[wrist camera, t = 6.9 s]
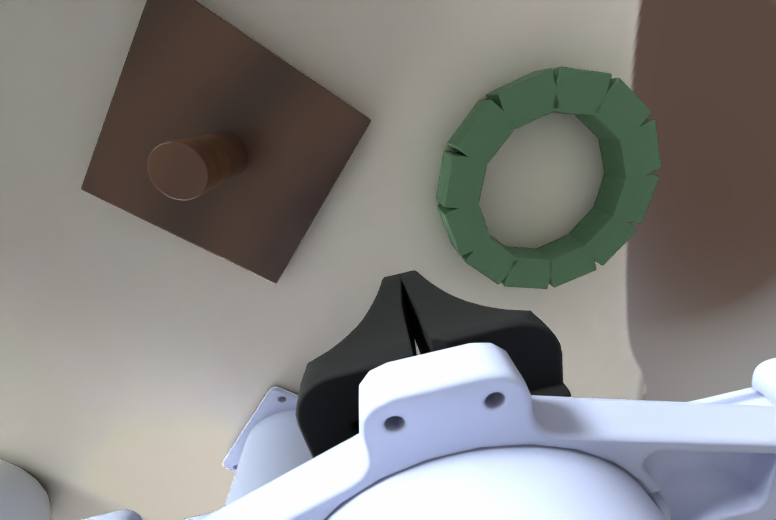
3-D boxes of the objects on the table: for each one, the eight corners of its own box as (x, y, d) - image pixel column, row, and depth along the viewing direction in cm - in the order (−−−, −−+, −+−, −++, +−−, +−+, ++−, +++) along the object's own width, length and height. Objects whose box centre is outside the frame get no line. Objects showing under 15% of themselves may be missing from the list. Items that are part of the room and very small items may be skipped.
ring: (581, 14, 17) (605, 4, 15) (666, 196, 21) (693, 204, 19) (394, 171, 19) (398, 177, 17) (504, 309, 23) (515, 325, 21)
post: (370, 119, 18) (378, 124, 12) (279, 276, 21) (252, 338, 15) (167, -19, 15) (60, -91, 10) (93, 185, 18) (-22, 219, 12)
